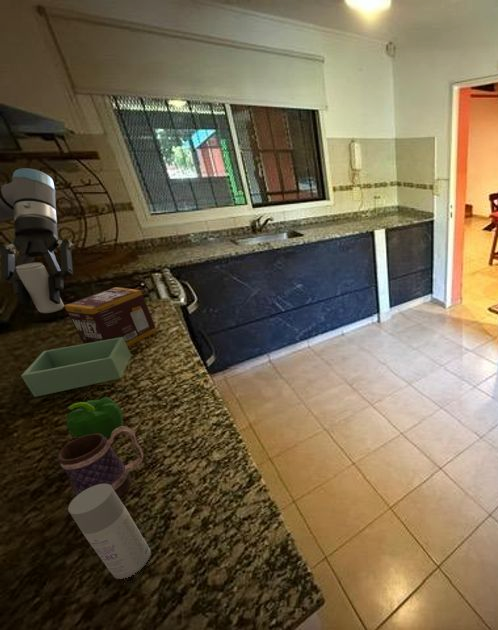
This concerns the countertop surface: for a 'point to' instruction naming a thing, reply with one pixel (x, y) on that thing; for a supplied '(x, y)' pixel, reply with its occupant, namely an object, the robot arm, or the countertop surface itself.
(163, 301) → the countertop surface
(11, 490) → the countertop surface
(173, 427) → the countertop surface
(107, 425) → the bell pepper
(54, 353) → the basin
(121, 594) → the countertop surface
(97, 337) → the supplement box
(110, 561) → the container
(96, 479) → the mug
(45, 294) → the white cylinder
